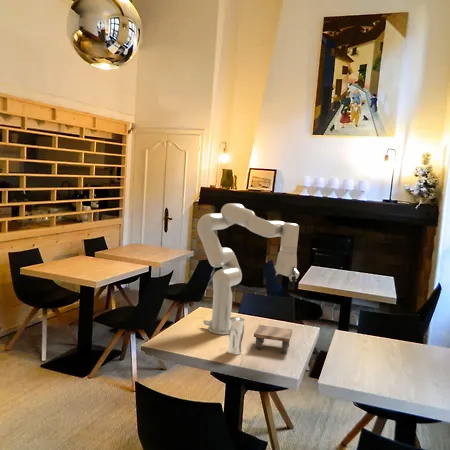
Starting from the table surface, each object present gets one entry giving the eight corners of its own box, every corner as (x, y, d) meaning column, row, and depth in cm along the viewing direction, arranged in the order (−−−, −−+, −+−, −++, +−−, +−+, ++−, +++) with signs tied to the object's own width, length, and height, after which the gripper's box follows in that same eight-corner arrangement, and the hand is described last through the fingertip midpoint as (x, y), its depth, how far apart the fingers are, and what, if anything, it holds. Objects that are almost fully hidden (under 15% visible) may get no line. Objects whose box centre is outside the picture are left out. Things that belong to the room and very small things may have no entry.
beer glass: (234, 356, 189) (236, 322, 188) (223, 351, 194) (225, 318, 193) (245, 353, 194) (248, 320, 192) (235, 348, 199) (237, 315, 198)
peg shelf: (252, 349, 198) (253, 333, 198) (257, 339, 212) (259, 324, 211) (288, 355, 194) (289, 339, 194) (291, 344, 208) (292, 329, 207)
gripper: (270, 246, 205) (267, 282, 207) (293, 253, 190) (289, 292, 192) (283, 246, 209) (280, 282, 210) (307, 253, 194) (303, 291, 196)
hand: (284, 286), depth 201 cm, fingers open, 9 cm apart
